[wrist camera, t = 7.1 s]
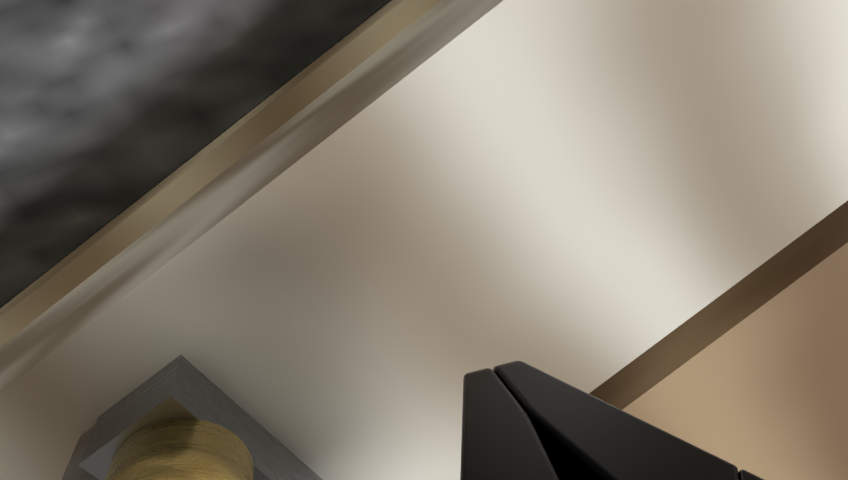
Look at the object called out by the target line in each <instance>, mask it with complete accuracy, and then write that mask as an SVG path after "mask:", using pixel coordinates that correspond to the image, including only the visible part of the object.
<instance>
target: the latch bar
mask: <svg viewBox="0 0 848 480" xmlns="http://www.w3.org/2000/svg"><path fill="white" fill-rule="evenodd" d="M78 465H79V466H80V467H82V468H83V469H85V470H86V471H87V472H89V473H90V474H92V475H93V476H94V477H96V478H97V479H99V480H322V479H321V478H320V477H319V476H318V475H317V474H316V473H314V472H313V471H312V470H311V469H310V468H309V467H308V466H307V465H305V464H304V463H303V462H302V461H301V460H300V459H299V458H297V457H296V456H295V455H294V454H293V453H292V452H291V451H290V450H288V449H287V448H286V447H285V446H284V445H283V444H282V443H280V442H279V441H278V440H277V439H276V438H275V437H274V436H273V435H271V434H270V433H269V432H268V431H267V430H266V429H265V428H264V427H262V426H261V425H260V424H259V423H258V422H257V421H256V420H254V419H253V418H252V417H251V416H250V415H249V414H248V413H247V412H245V411H244V410H243V409H242V408H241V407H240V406H239V405H237V404H236V403H235V402H234V401H233V400H232V399H231V398H230V397H228V396H227V395H226V394H225V393H224V392H223V391H222V390H220V389H219V388H218V387H217V386H216V385H215V384H214V383H213V382H211V381H210V380H209V379H208V378H207V377H206V376H205V375H204V374H202V373H201V372H200V371H199V370H198V369H197V368H196V367H194V366H193V365H192V364H191V363H190V362H189V361H188V360H187V359H185V358H184V357H183V356H182V355H179V356H178V357H177V358H175V359H174V360H173V361H171V362H170V363H169V364H167V365H166V366H165V367H163V368H162V369H161V370H160V371H158V372H157V373H156V374H154V375H153V376H152V377H150V378H149V379H148V380H146V381H145V382H144V383H142V384H141V385H140V386H138V387H137V388H136V389H134V390H133V391H132V392H130V393H129V394H128V395H126V396H125V397H124V398H122V399H121V400H120V401H118V402H117V403H116V404H114V405H113V406H112V407H110V408H109V409H108V410H106V411H105V412H104V413H102V414H101V415H100V416H98V418H97V421H96V423H95V426H94V428H93V430H92V433H91V435H90V438H89V440H88V443H87V445H86V447H85V450H84V452H83V455H82V457H81V459H80V462H79V464H78Z"/></svg>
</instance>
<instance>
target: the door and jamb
mask: <svg viewBox="0 0 848 480" xmlns="http://www.w3.org/2000/svg"><path fill="white" fill-rule="evenodd" d="M179 355H182V356H183V357H184V358H185V359H187V360H188V361H189V362H190V363H191V364H192V365H193V366H194V367H196V368H197V369H198V370H199V371H200V372H201V373H202V374H204V375H205V376H206V377H207V378H208V379H209V380H210V381H211V382H213V383H214V384H215V385H216V386H217V387H218V388H219V389H220V390H222V391H223V392H224V393H225V394H226V395H227V396H228V397H230V398H231V399H232V400H233V401H234V402H235V403H236V404H237V405H239V406H240V407H241V408H242V409H243V410H244V411H245V412H247V413H248V414H249V415H250V416H251V417H252V418H253V419H254V420H256V421H257V422H258V423H259V424H260V425H261V426H262V427H264V428H265V429H266V430H267V431H268V432H269V433H270V434H271V435H273V436H274V437H275V438H276V439H277V440H278V441H279V442H280V443H282V444H283V445H284V446H285V447H286V448H287V449H288V450H290V451H291V452H292V453H293V454H294V455H295V456H296V457H297V458H299V459H300V460H301V461H302V462H303V463H304V464H305V465H307V466H308V467H309V468H310V469H311V470H312V471H313V472H314V473H316V474H317V475H318V476H319V477H320V478H321V479H322V480H460V472H461V439H462V406H463V378H464V375H465V374H467V373H470V372H474V371H478V370H482V369H486V368H490V369H492V370H493V368H494V367H495V366H497V365H501V364H505V363H509V362H513V361H522V362H525V363H527V364H529V365H531V366H533V367H535V368H537V369H539V370H541V371H543V372H545V373H547V374H549V375H551V376H553V377H555V378H557V379H559V380H562V381H564V382H566V383H568V384H570V385H572V386H574V387H576V388H578V389H580V390H582V391H584V392H586V393H588V394H590V395H592V396H594V397H596V398H598V399H600V400H602V401H604V402H606V403H608V404H611V405H613V406H615V407H617V408H619V409H621V410H623V411H625V412H627V413H629V414H631V415H633V416H635V417H637V418H639V419H641V420H643V421H645V422H647V423H649V424H651V425H653V426H655V427H658V428H660V429H662V430H664V431H666V432H668V433H670V434H672V435H674V436H676V437H678V438H680V439H682V440H684V441H686V442H688V443H690V444H692V445H694V446H696V447H698V448H700V449H702V450H704V451H707V452H709V453H711V454H713V455H715V456H717V457H719V458H721V459H723V460H725V461H727V462H729V463H731V464H733V465H735V466H736V467H737V468H738V473H739V471H740V470H742V469H743V470H746V471H748V472H750V473H752V474H754V475H756V476H758V477H760V478H762V479H764V480H848V0H391V1H390V2H389V3H388V4H386V5H385V6H384V7H383V8H381V9H380V10H379V11H378V12H376V13H375V14H374V15H372V16H371V17H370V18H369V19H367V20H366V21H365V22H364V23H362V24H361V25H360V26H358V27H357V28H356V29H355V30H353V31H352V32H351V33H350V34H348V35H347V36H346V37H345V38H343V39H342V40H341V41H339V42H338V43H337V44H336V45H334V46H333V47H332V48H331V49H329V50H328V51H327V52H325V53H324V54H323V55H322V56H320V57H319V58H318V59H317V60H315V61H314V62H313V63H311V64H310V65H309V66H308V67H306V68H305V69H304V70H303V71H301V72H300V73H299V74H298V75H296V76H295V77H294V78H292V79H291V80H290V81H289V82H287V83H286V84H285V85H284V86H282V87H281V88H280V89H278V90H277V91H276V92H275V93H273V94H272V95H271V96H270V97H268V98H267V99H266V100H265V101H263V102H262V103H261V104H259V105H258V106H257V107H256V108H254V109H253V110H252V111H251V112H249V113H248V114H247V115H245V116H244V117H243V118H242V119H240V120H239V121H238V122H237V123H235V124H234V125H233V126H231V127H230V128H229V129H228V130H226V131H225V132H224V133H223V134H221V135H220V136H219V137H218V138H216V139H215V140H214V141H212V142H211V143H210V144H209V145H207V146H206V147H205V148H204V149H202V150H201V151H200V152H198V153H197V154H196V155H195V156H193V157H192V158H191V159H190V160H188V161H187V162H186V163H185V164H183V165H182V166H181V167H179V168H178V169H177V170H176V171H174V172H173V173H172V174H171V175H169V176H168V177H167V178H165V179H164V180H163V181H162V182H160V183H159V184H158V185H157V186H155V187H154V188H153V189H152V190H150V191H149V192H148V193H146V194H145V195H144V196H143V197H141V198H140V199H139V200H138V201H136V202H135V203H134V204H132V205H131V206H130V207H129V208H127V209H126V210H125V211H124V212H122V213H121V214H120V215H118V216H117V217H116V218H115V219H113V220H112V221H111V222H110V223H108V224H107V225H106V226H105V227H103V228H102V229H101V230H99V231H98V232H97V233H96V234H94V235H93V236H92V237H91V238H89V239H88V240H87V241H85V242H84V243H83V244H82V245H80V246H79V247H78V248H77V249H75V250H74V251H73V252H72V253H70V254H69V255H68V256H66V257H65V258H64V259H63V260H61V261H60V262H59V263H58V264H56V265H55V266H54V267H52V268H51V269H50V270H49V271H47V272H46V273H45V274H44V275H42V276H41V277H40V278H39V279H37V280H36V281H35V282H33V283H32V284H31V285H30V286H28V287H27V288H26V289H25V290H23V291H22V292H21V293H19V294H18V295H17V296H16V297H14V298H13V299H12V300H11V301H9V302H8V303H7V304H5V305H4V306H3V307H2V308H0V480H99V479H97V478H96V477H94V476H93V475H92V474H90V473H89V472H87V471H86V470H85V469H83V468H82V467H80V466H79V465H78V464H79V462H80V459H81V457H82V455H83V452H84V450H85V447H86V445H87V443H88V440H89V438H90V435H91V433H92V430H93V428H94V426H95V423H96V421H97V418H98V416H100V415H101V414H102V413H104V412H105V411H106V410H108V409H109V408H110V407H112V406H113V405H114V404H116V403H117V402H118V401H120V400H121V399H122V398H124V397H125V396H126V395H128V394H129V393H130V392H132V391H133V390H134V389H136V388H137V387H138V386H140V385H141V384H142V383H144V382H145V381H146V380H148V379H149V378H150V377H152V376H153V375H154V374H156V373H157V372H158V371H160V370H161V369H162V368H163V367H165V366H166V365H167V364H169V363H170V362H171V361H173V360H174V359H175V358H177V357H178V356H179Z"/></svg>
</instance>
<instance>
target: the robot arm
mask: <svg viewBox="0 0 848 480" xmlns="http://www.w3.org/2000/svg"><path fill="white" fill-rule="evenodd" d="M460 480H764V479H762V478H760V477H758V476H756V475H754V474H752V473H750V472H748V471H746V470H743V469H742V470H740V471H739V473H738V468H737V467H736V466H735V465H733V464H731V463H729V462H727V461H725V460H723V459H721V458H719V457H717V456H715V455H713V454H711V453H709V452H707V451H704V450H702V449H700V448H698V447H696V446H694V445H692V444H690V443H688V442H686V441H684V440H682V439H680V438H678V437H676V436H674V435H672V434H670V433H668V432H666V431H664V430H662V429H660V428H658V427H655V426H653V425H651V424H649V423H647V422H645V421H643V420H641V419H639V418H637V417H635V416H633V415H631V414H629V413H627V412H625V411H623V410H621V409H619V408H617V407H615V406H613V405H611V404H608V403H606V402H604V401H602V400H600V399H598V398H596V397H594V396H592V395H590V394H588V393H586V392H584V391H582V390H580V389H578V388H576V387H574V386H572V385H570V384H568V383H566V382H564V381H562V380H559V379H557V378H555V377H553V376H551V375H549V374H547V373H545V372H543V371H541V370H539V369H537V368H535V367H533V366H531V365H529V364H527V363H525V362H522V361H513V362H509V363H505V364H501V365H497V366H495V367H494V368H493V370H492V369H490V368H486V369H482V370H478V371H474V372H470V373H467V374H465V375H464V378H463V406H462V439H461V472H460Z"/></svg>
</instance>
